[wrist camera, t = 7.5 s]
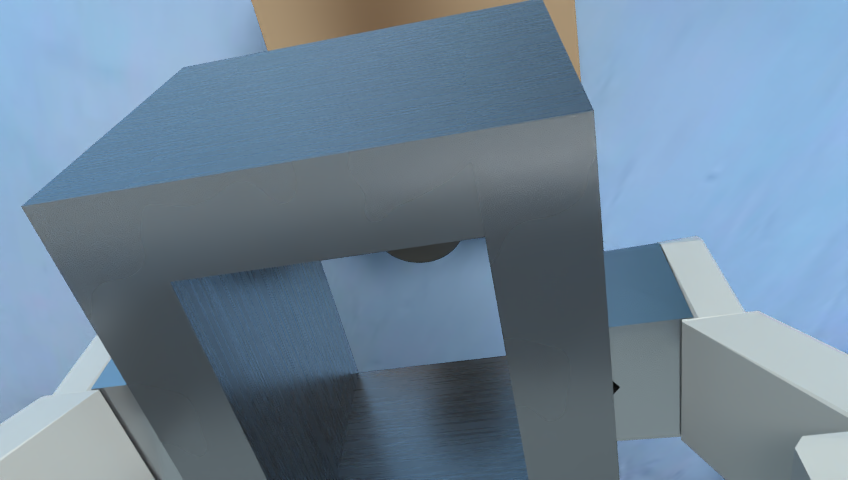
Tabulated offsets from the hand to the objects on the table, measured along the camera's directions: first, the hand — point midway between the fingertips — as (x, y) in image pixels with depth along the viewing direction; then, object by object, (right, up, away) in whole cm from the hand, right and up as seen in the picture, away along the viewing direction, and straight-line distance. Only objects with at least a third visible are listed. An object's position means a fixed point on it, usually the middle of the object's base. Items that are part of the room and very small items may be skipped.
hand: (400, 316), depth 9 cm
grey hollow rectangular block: (0, +1, +1) cm, 2 cm away
